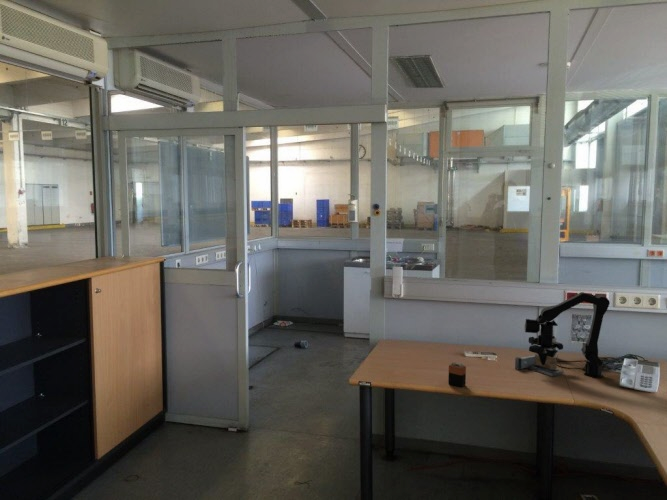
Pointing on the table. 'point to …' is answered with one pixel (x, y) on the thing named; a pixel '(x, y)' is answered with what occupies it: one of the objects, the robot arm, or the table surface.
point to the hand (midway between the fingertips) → (545, 364)
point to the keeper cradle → (545, 370)
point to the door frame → (517, 363)
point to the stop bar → (546, 362)
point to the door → (527, 361)
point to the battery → (457, 374)
